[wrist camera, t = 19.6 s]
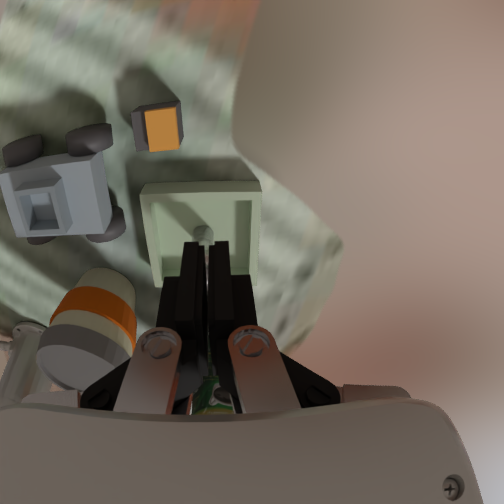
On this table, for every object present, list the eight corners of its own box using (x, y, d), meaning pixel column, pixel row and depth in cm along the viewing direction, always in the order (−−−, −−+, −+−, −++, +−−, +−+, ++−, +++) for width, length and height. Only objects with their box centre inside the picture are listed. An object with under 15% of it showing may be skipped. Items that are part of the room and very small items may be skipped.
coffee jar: (185, 357, 54) (181, 454, 39) (197, 330, 50) (194, 438, 35) (236, 367, 57) (243, 460, 42) (253, 342, 53) (265, 444, 38)
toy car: (37, 224, 36) (9, 262, 29) (16, 138, 29) (-24, 165, 22) (130, 219, 37) (111, 261, 30) (117, 121, 30) (88, 144, 23)
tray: (158, 272, 42) (155, 287, 40) (145, 183, 35) (139, 194, 32) (254, 270, 43) (256, 285, 41) (259, 180, 36) (262, 191, 33)
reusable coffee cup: (118, 245, 39) (85, 334, 27) (162, 309, 46) (151, 397, 34) (54, 271, 41) (15, 350, 29) (99, 326, 48) (78, 404, 36)
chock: (144, 141, 32) (134, 154, 28) (139, 106, 30) (128, 114, 26) (183, 136, 32) (178, 148, 28) (180, 100, 30) (174, 108, 26)
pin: (189, 247, 40) (184, 296, 32) (187, 221, 37) (180, 269, 30) (218, 246, 40) (219, 295, 33) (217, 220, 38) (217, 267, 30)
